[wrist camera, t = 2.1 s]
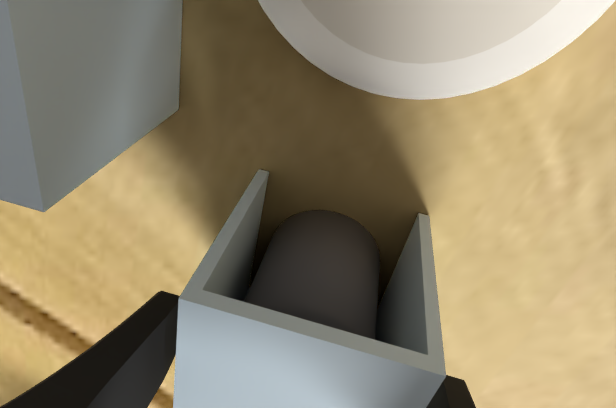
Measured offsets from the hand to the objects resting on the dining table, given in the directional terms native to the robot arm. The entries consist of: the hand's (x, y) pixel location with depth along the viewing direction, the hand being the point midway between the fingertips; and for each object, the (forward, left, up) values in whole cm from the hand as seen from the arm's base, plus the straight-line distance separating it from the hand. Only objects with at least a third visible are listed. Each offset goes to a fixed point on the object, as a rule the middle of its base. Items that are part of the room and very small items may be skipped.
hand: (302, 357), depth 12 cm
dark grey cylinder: (0, 0, -4) cm, 4 cm away
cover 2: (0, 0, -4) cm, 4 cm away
